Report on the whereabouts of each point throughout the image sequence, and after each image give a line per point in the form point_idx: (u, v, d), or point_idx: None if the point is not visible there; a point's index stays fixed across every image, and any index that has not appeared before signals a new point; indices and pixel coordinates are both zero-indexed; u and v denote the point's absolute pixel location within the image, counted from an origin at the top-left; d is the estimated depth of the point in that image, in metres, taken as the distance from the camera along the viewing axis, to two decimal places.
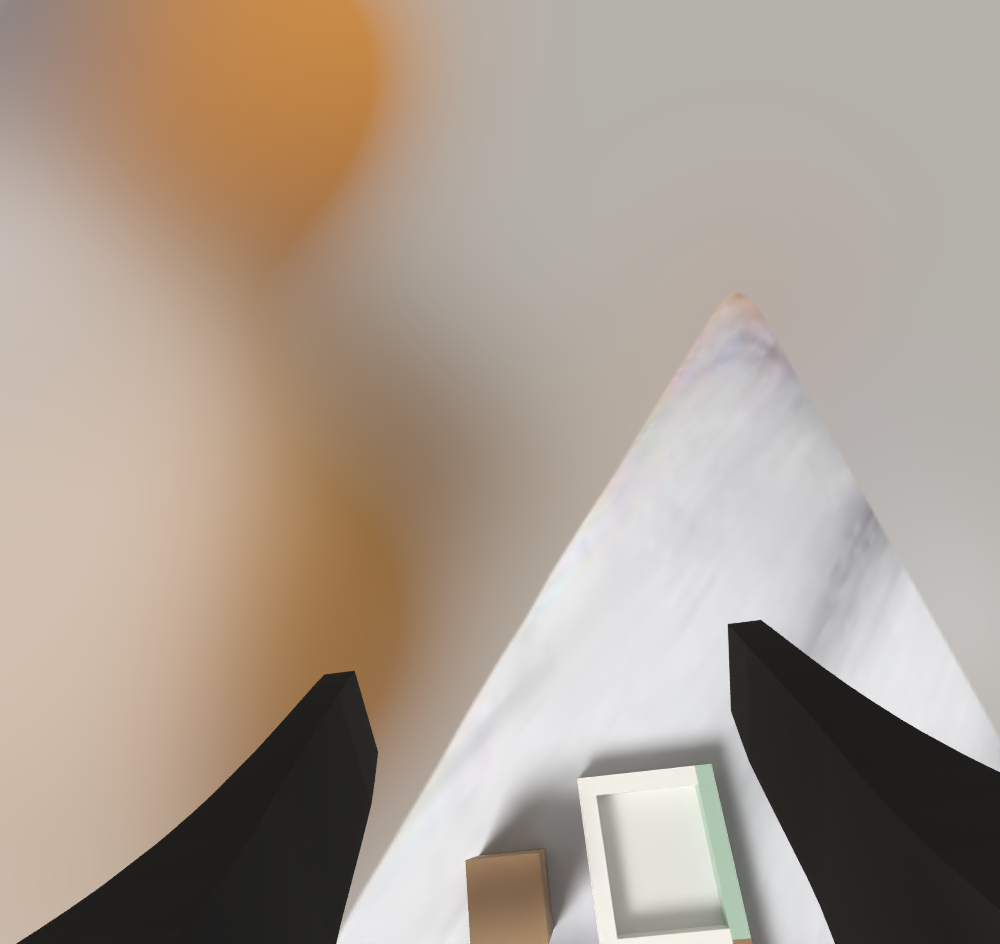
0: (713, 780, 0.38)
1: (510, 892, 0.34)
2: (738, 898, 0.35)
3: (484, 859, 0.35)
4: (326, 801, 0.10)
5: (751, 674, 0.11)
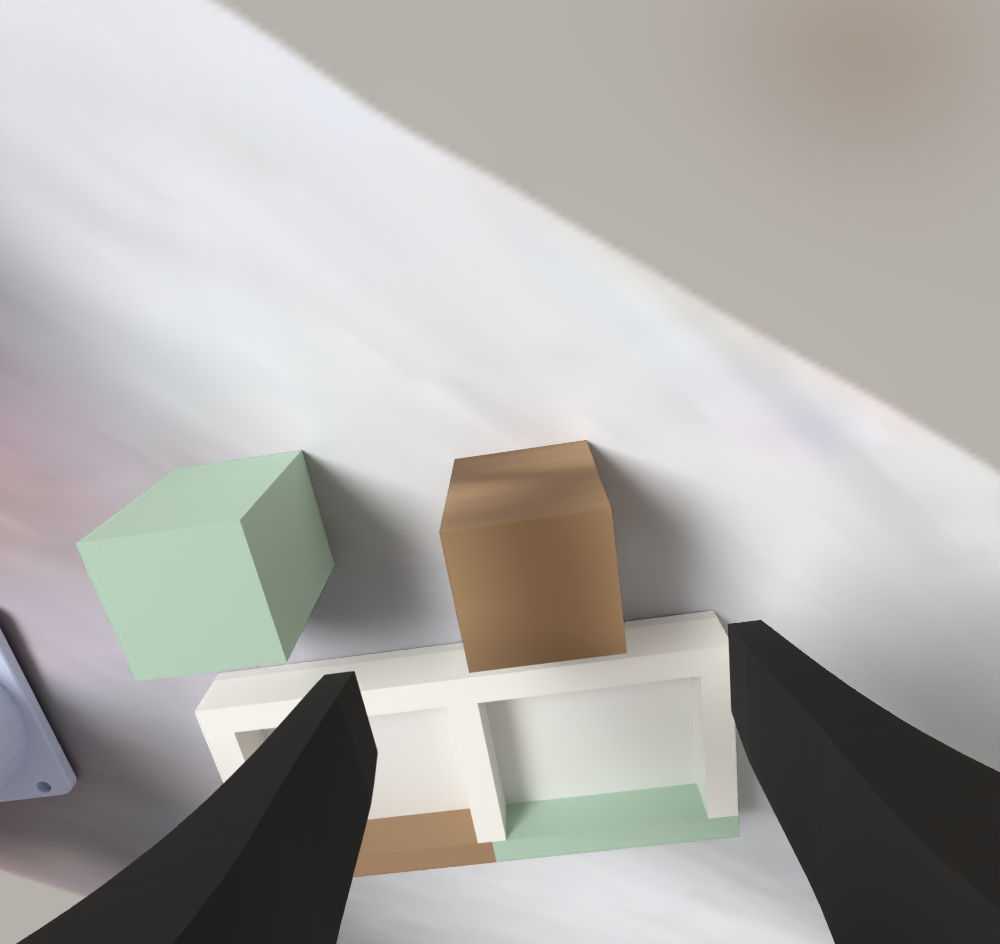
0: (712, 837, 0.23)
1: (552, 603, 0.16)
2: (546, 853, 0.23)
3: (613, 549, 0.15)
4: (326, 801, 0.10)
5: (751, 674, 0.11)
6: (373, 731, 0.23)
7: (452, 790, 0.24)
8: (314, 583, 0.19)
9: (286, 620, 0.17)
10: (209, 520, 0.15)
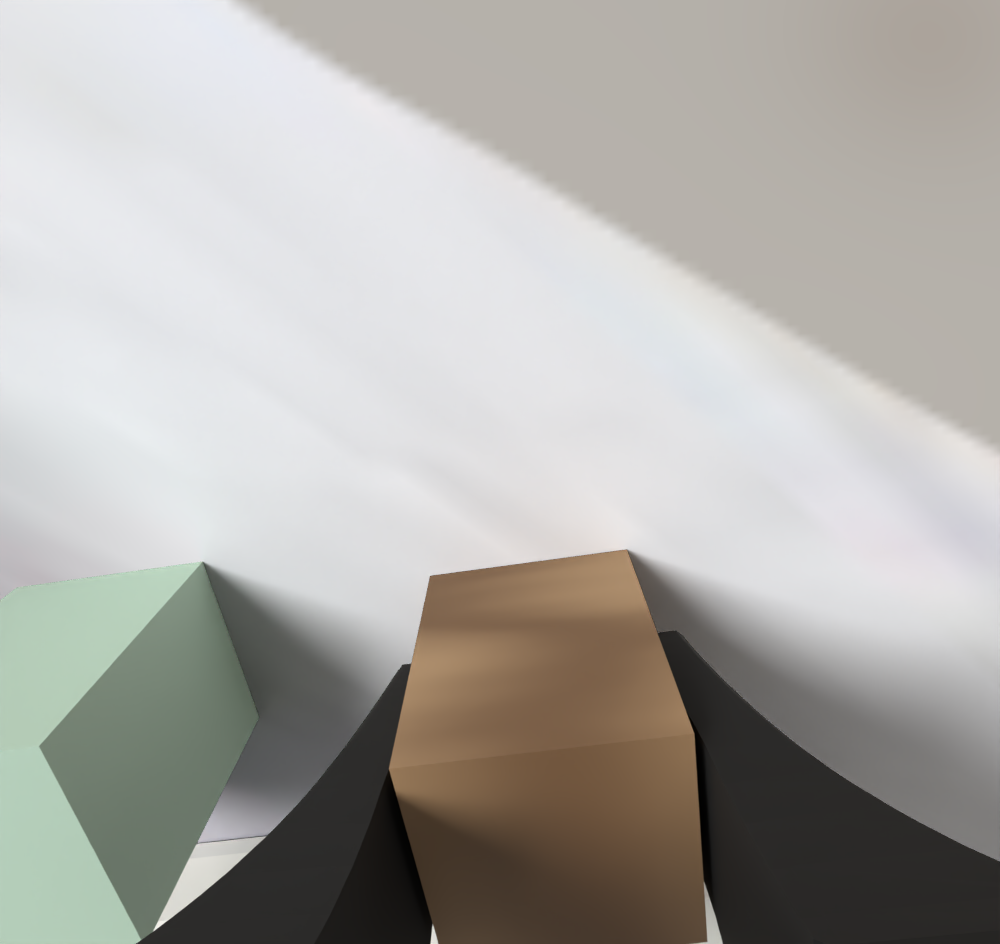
0: None
1: (585, 872, 0.09)
2: None
3: (694, 795, 0.09)
4: None
5: None
6: None
7: None
8: (216, 768, 0.13)
9: (149, 870, 0.10)
10: None
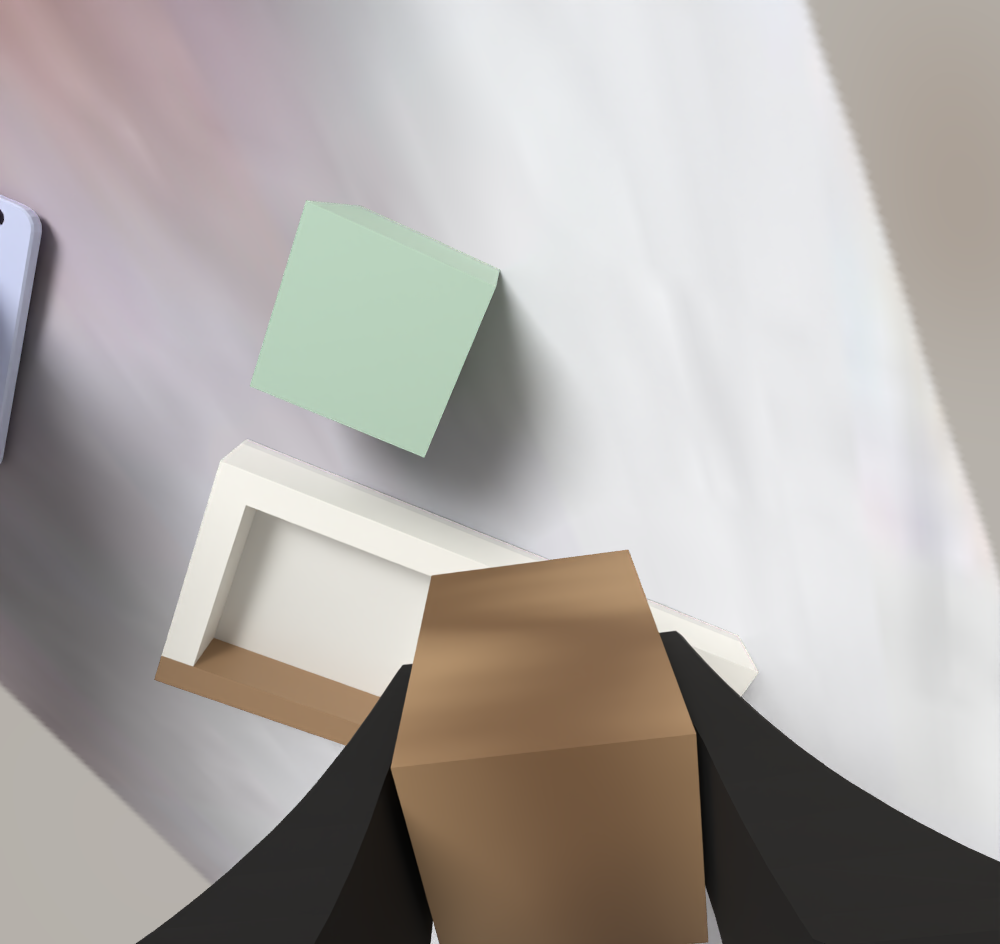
0: None
1: (585, 872, 0.09)
2: None
3: (696, 795, 0.09)
4: None
5: None
6: (365, 582, 0.21)
7: None
8: None
9: None
10: (459, 268, 0.13)
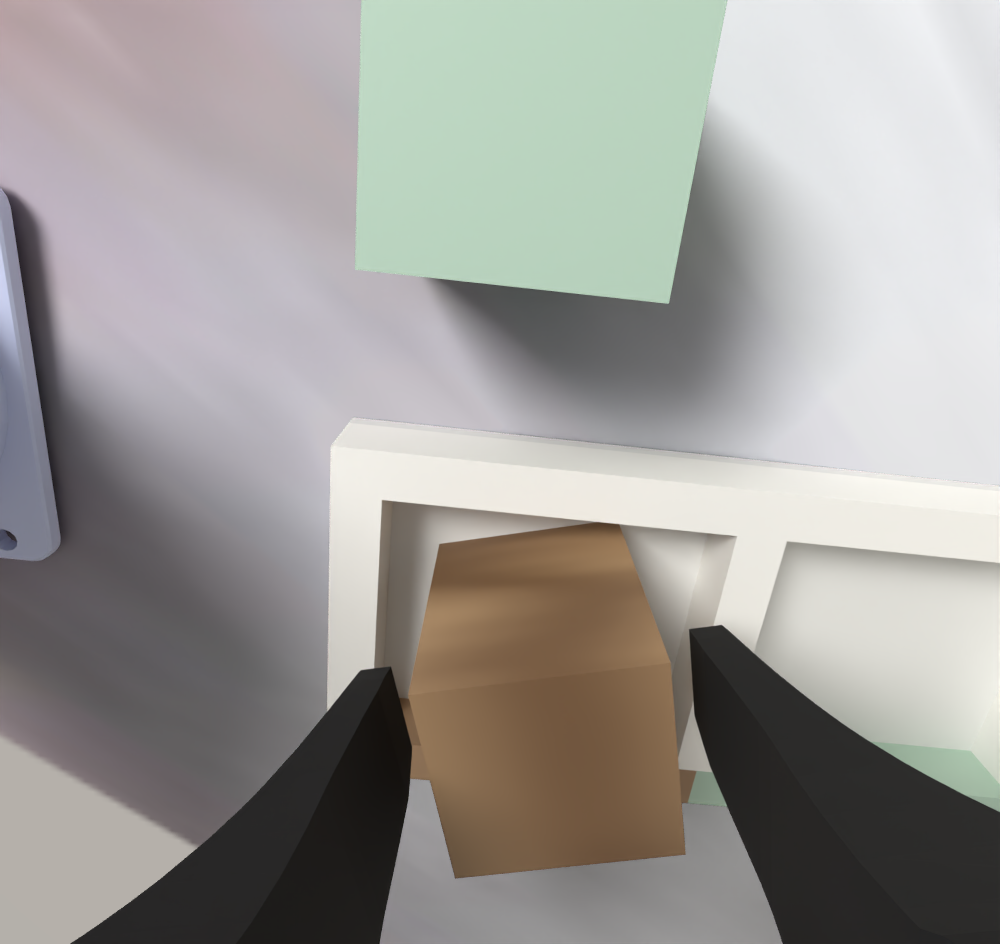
0: None
1: (577, 789, 0.11)
2: None
3: (671, 718, 0.10)
4: (369, 796, 0.10)
5: (708, 679, 0.11)
6: None
7: None
8: None
9: None
10: None
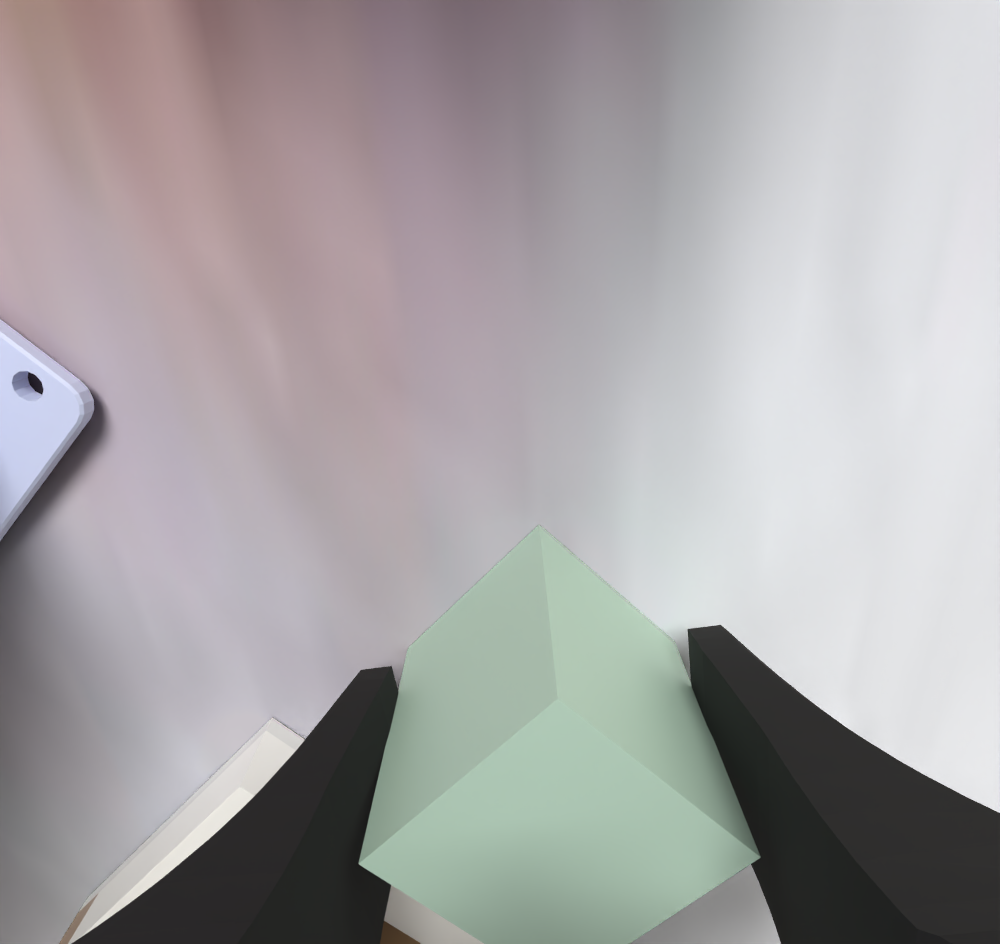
0: None
1: None
2: None
3: None
4: (370, 796, 0.10)
5: (707, 679, 0.11)
6: None
7: None
8: None
9: None
10: (717, 812, 0.09)
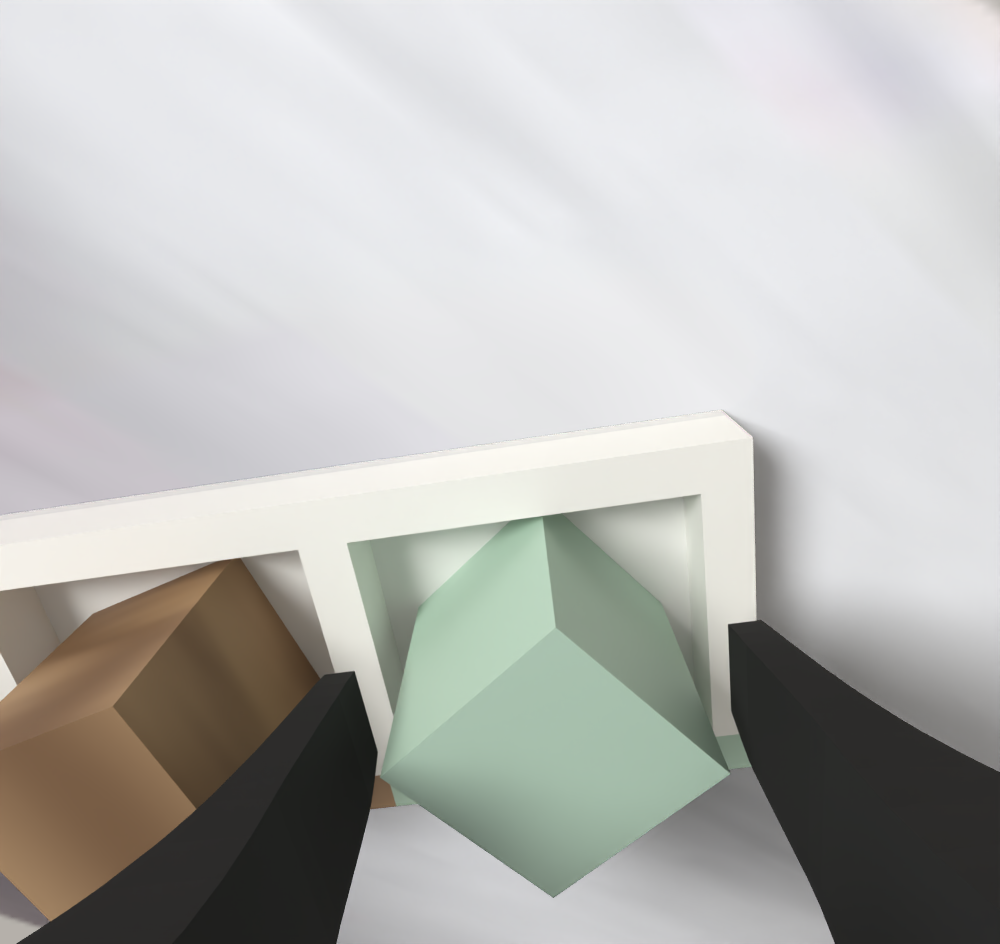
0: None
1: (113, 836, 0.11)
2: None
3: (148, 755, 0.10)
4: (326, 801, 0.10)
5: (751, 674, 0.11)
6: None
7: None
8: None
9: None
10: (693, 734, 0.10)
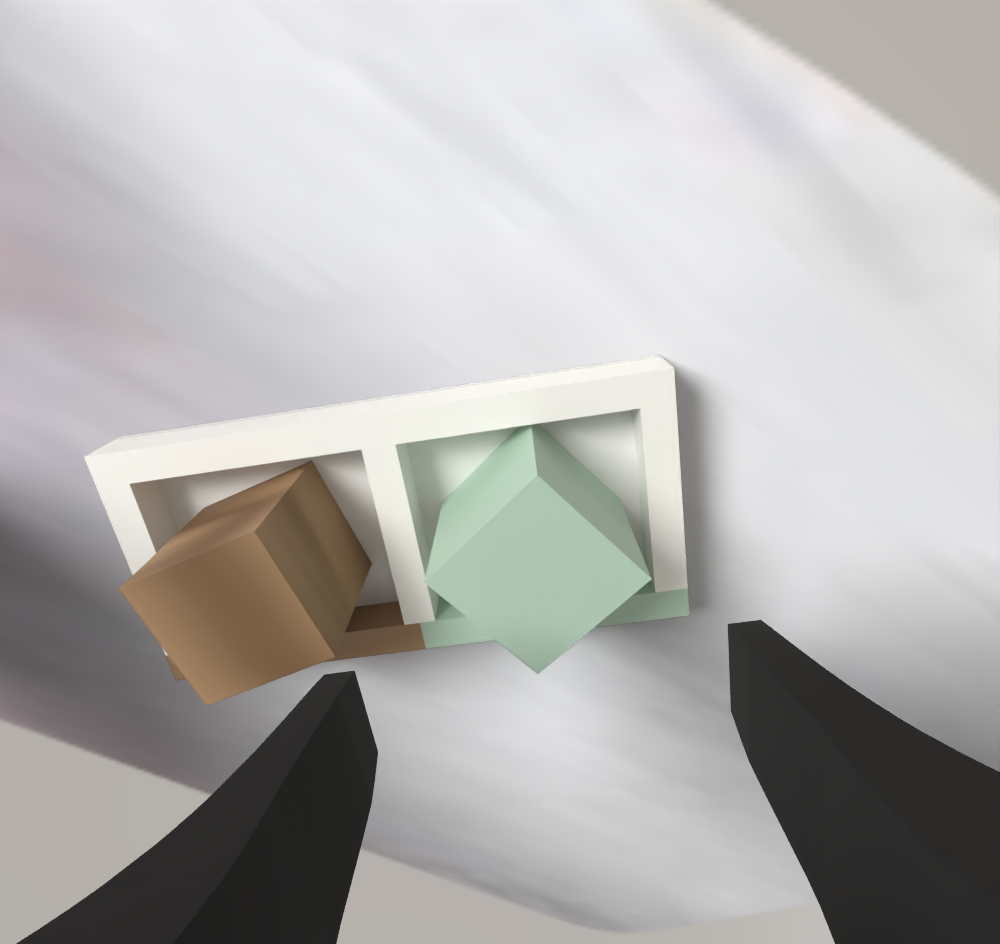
0: (660, 616, 0.21)
1: (246, 627, 0.17)
2: (479, 637, 0.21)
3: (274, 566, 0.16)
4: (326, 800, 0.10)
5: (751, 674, 0.11)
6: None
7: (380, 578, 0.22)
8: None
9: None
10: (627, 554, 0.16)
